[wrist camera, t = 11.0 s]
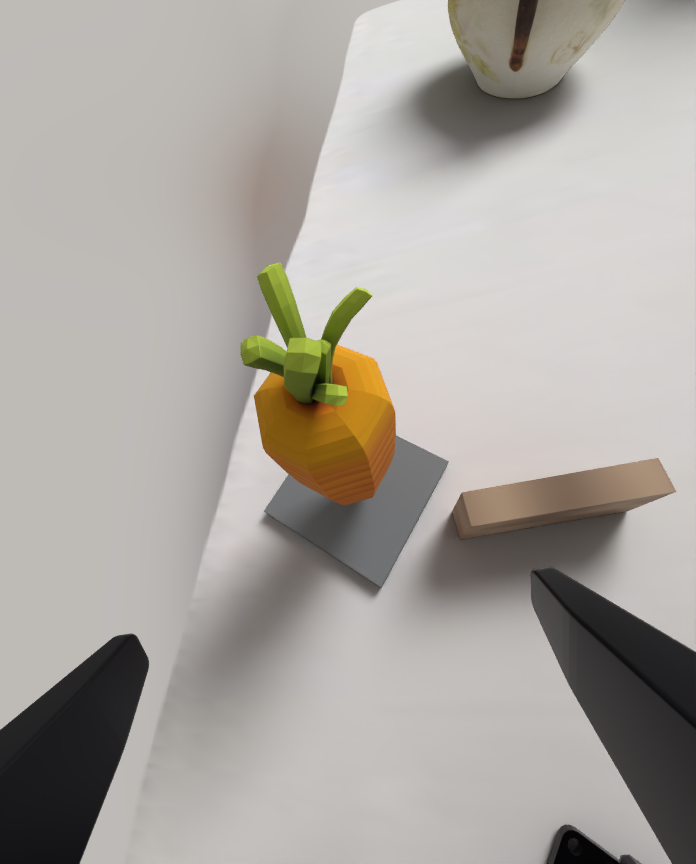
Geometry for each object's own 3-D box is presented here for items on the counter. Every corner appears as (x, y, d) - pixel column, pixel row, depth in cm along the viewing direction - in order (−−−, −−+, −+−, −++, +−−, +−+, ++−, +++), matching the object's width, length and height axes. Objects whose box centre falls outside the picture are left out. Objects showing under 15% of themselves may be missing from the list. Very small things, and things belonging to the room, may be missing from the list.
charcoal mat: (381, 587, 20) (380, 587, 20) (267, 513, 23) (263, 511, 22) (447, 464, 22) (448, 461, 22) (336, 410, 25) (335, 405, 24)
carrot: (324, 446, 23) (209, 233, 10) (404, 452, 22) (396, 224, 9) (310, 526, 21) (144, 395, 8) (397, 536, 21) (376, 405, 7)
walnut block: (614, 482, 21) (658, 458, 17) (627, 511, 20) (676, 491, 16) (452, 510, 21) (462, 492, 18) (459, 539, 21) (471, 526, 17)
